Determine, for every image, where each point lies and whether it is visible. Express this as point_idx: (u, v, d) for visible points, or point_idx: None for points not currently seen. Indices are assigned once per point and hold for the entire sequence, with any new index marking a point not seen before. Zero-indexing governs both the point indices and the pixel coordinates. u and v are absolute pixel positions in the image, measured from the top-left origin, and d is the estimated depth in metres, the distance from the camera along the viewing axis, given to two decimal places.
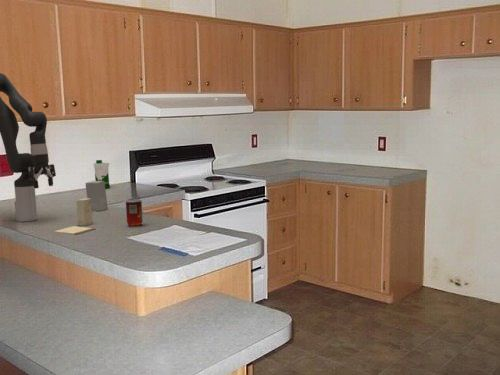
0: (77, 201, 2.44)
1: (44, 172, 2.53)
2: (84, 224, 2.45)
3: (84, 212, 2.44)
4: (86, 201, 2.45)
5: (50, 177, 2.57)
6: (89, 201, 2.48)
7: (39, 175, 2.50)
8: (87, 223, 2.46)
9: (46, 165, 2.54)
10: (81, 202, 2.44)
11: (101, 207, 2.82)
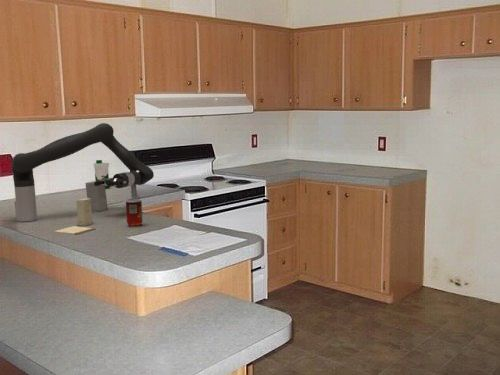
0: (77, 201, 2.44)
1: None
2: (84, 224, 2.45)
3: (84, 212, 2.44)
4: (86, 201, 2.45)
5: (101, 184, 2.62)
6: (89, 201, 2.48)
7: None
8: (87, 223, 2.46)
9: None
10: (81, 202, 2.44)
11: (101, 207, 2.82)
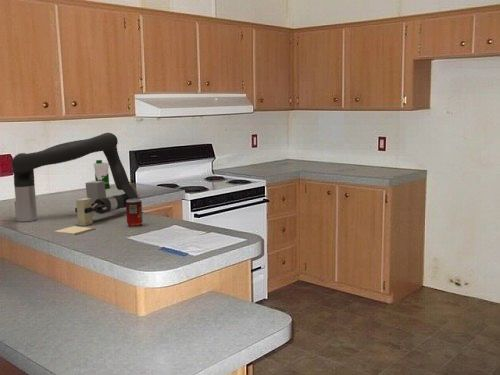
0: (77, 201, 2.44)
1: None
2: (84, 224, 2.45)
3: None
4: (86, 201, 2.45)
5: None
6: (89, 201, 2.48)
7: None
8: (87, 223, 2.46)
9: None
10: (81, 202, 2.44)
11: None
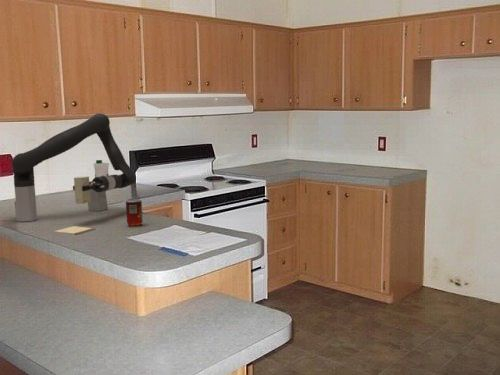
0: (75, 179, 2.43)
1: None
2: (81, 202, 2.43)
3: (81, 190, 2.42)
4: (83, 179, 2.43)
5: None
6: (87, 179, 2.46)
7: None
8: (84, 201, 2.44)
9: None
10: (78, 180, 2.42)
11: (101, 207, 2.82)
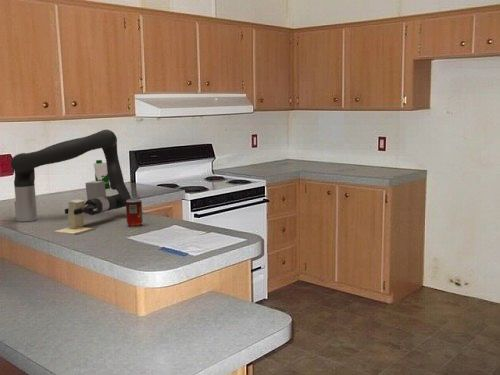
0: (69, 202, 2.36)
1: None
2: (73, 227, 2.37)
3: (75, 215, 2.36)
4: (78, 204, 2.36)
5: None
6: (82, 203, 2.39)
7: (84, 213, 2.40)
8: (77, 226, 2.38)
9: None
10: (73, 204, 2.35)
11: None
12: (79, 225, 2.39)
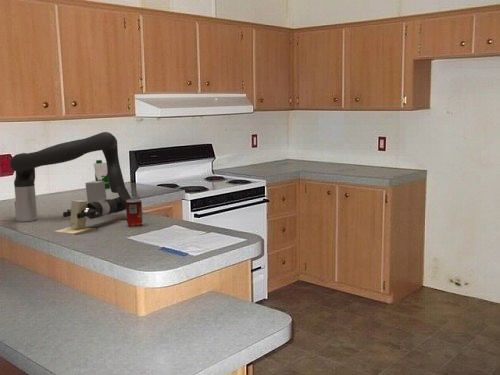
0: (72, 202, 2.34)
1: None
2: (75, 226, 2.34)
3: None
4: (81, 203, 2.35)
5: None
6: (85, 204, 2.37)
7: None
8: (79, 226, 2.34)
9: None
10: (76, 203, 2.34)
11: None
12: (81, 226, 2.36)
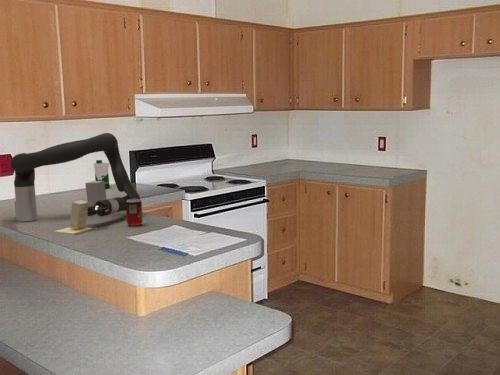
0: (73, 203, 2.32)
1: None
2: (75, 228, 2.34)
3: (78, 216, 2.32)
4: (82, 205, 2.33)
5: None
6: (86, 205, 2.36)
7: None
8: (79, 227, 2.34)
9: None
10: (76, 205, 2.32)
11: None
12: (81, 227, 2.36)
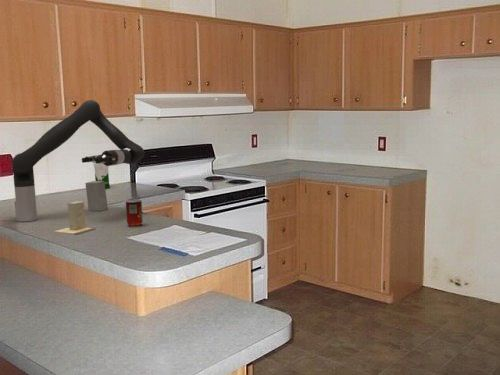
0: (68, 204, 2.33)
1: None
2: (75, 228, 2.34)
3: (75, 216, 2.33)
4: (77, 204, 2.34)
5: (89, 161, 2.52)
6: (82, 204, 2.36)
7: None
8: (78, 227, 2.34)
9: None
10: (72, 205, 2.33)
11: (101, 207, 2.82)
12: (81, 226, 2.36)
